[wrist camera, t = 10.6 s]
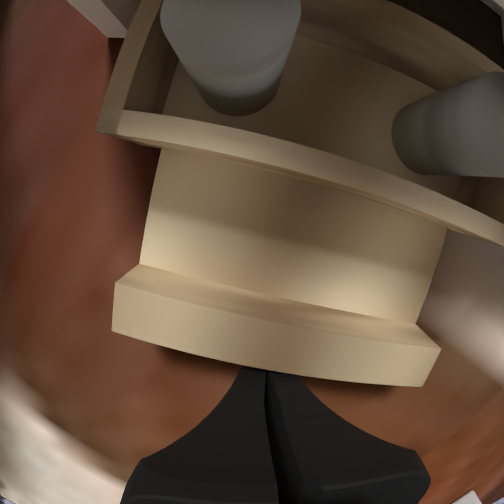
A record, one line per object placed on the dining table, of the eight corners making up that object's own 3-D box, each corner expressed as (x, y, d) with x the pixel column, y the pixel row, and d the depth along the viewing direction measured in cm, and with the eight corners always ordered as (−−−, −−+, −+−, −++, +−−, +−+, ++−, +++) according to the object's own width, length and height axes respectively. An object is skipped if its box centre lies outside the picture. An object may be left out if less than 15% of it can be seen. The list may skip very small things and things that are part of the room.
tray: (473, 106, 9) (562, 87, 4) (408, 348, 12) (471, 423, 7) (186, 11, 9) (150, -77, 4) (118, 288, 11) (43, 356, 6)
